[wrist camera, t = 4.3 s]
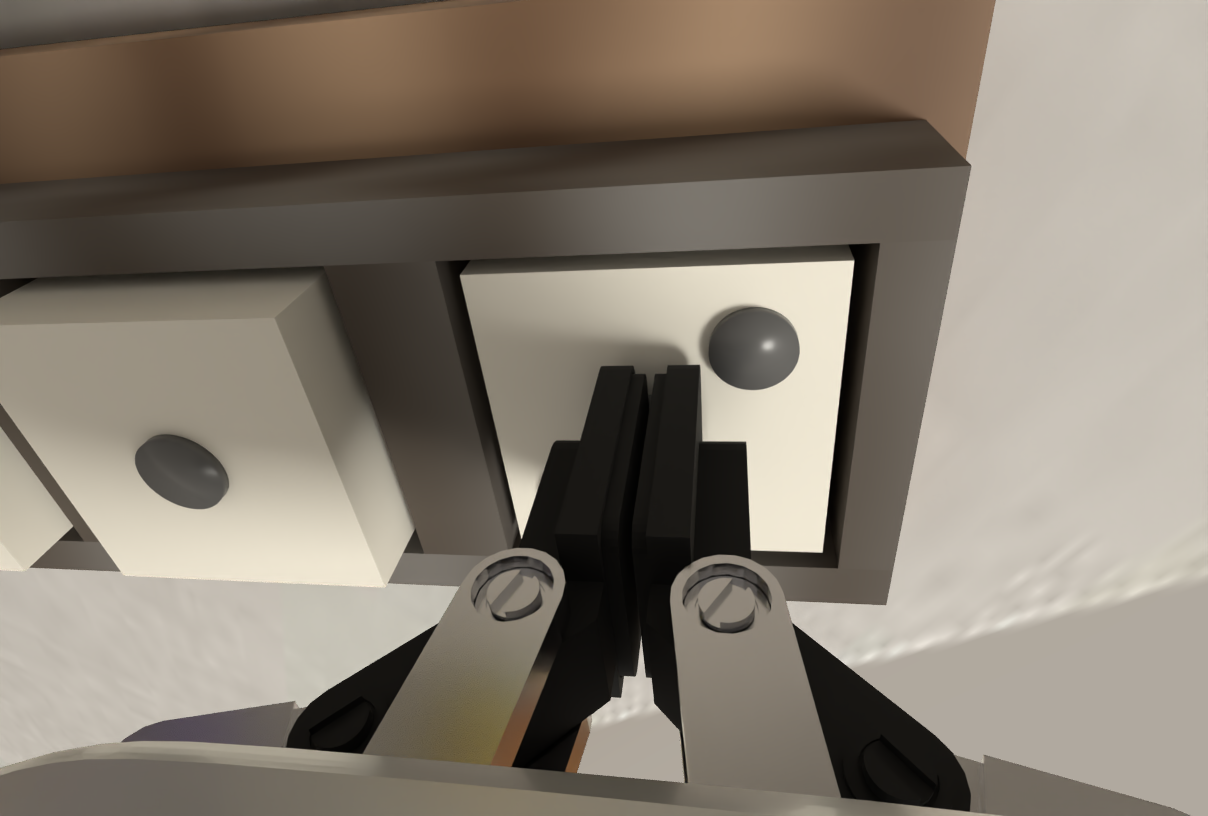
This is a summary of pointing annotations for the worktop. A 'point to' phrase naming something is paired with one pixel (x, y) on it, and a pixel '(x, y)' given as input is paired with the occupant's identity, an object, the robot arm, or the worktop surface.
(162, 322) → the one-dot button
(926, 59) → the button panel
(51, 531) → the two-dot button
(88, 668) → the worktop surface
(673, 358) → the three-dot button
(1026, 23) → the worktop surface
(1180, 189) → the worktop surface
